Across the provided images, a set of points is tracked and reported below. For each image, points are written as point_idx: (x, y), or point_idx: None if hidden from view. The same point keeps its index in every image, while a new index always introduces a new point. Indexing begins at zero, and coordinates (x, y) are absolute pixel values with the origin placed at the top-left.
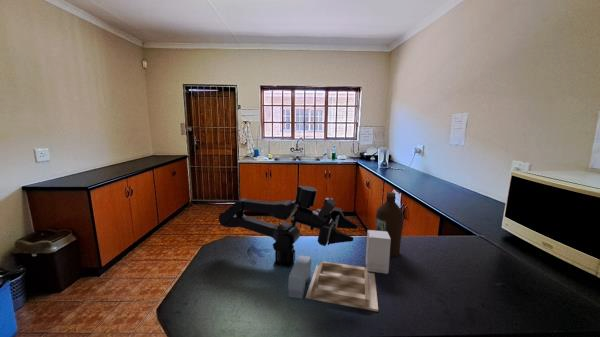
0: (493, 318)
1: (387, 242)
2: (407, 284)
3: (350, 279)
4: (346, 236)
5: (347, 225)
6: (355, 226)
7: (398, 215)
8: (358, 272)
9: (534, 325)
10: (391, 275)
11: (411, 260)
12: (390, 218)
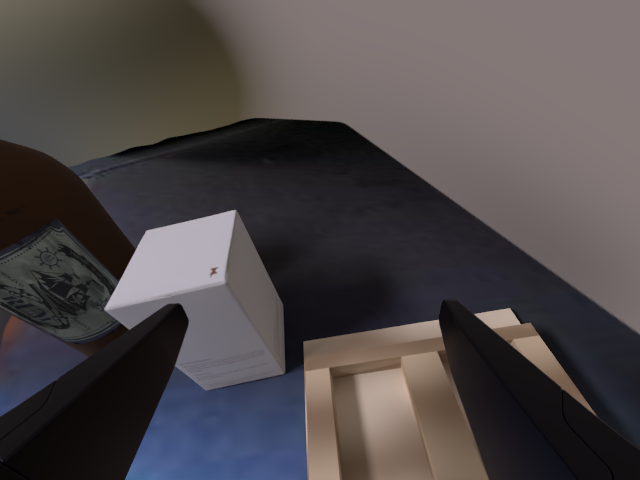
0: (371, 166)
1: (242, 230)
2: (323, 260)
3: (445, 420)
4: (510, 353)
5: (124, 422)
6: (175, 324)
7: (58, 163)
8: (334, 400)
9: (361, 144)
10: (289, 296)
11: None
12: (59, 194)
